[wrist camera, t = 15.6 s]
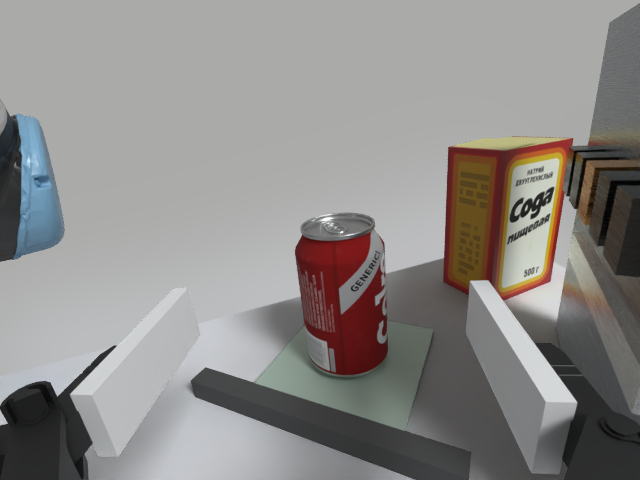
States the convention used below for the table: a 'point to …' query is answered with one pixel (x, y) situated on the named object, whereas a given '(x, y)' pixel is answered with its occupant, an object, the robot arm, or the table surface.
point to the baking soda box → (504, 212)
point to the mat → (358, 377)
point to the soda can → (343, 293)
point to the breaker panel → (607, 231)
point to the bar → (336, 428)
